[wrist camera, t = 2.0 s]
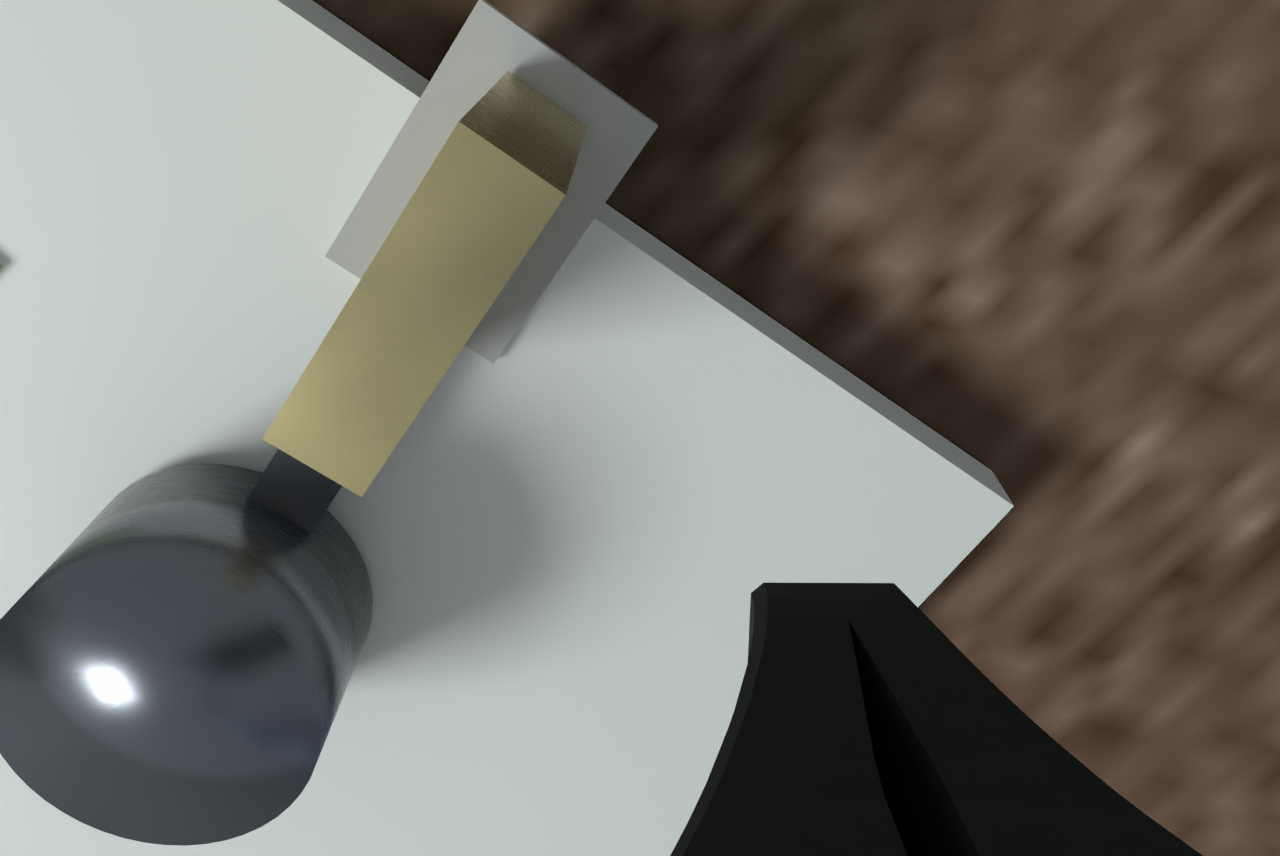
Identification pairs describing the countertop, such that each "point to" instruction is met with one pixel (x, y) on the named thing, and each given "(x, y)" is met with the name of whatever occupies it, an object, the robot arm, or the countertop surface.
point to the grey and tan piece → (265, 533)
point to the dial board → (430, 422)
